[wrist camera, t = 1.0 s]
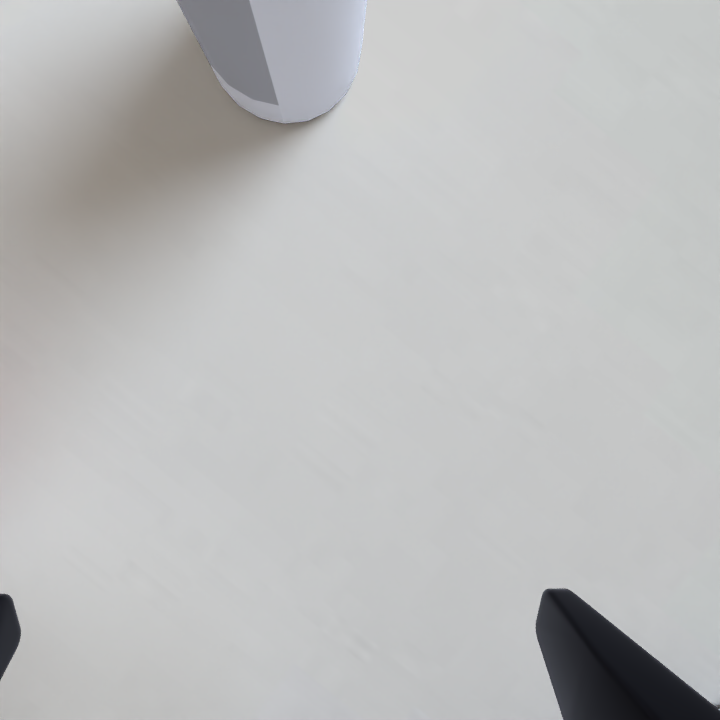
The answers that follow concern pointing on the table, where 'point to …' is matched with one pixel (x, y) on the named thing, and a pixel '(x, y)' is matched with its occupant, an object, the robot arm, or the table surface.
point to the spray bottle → (281, 52)
